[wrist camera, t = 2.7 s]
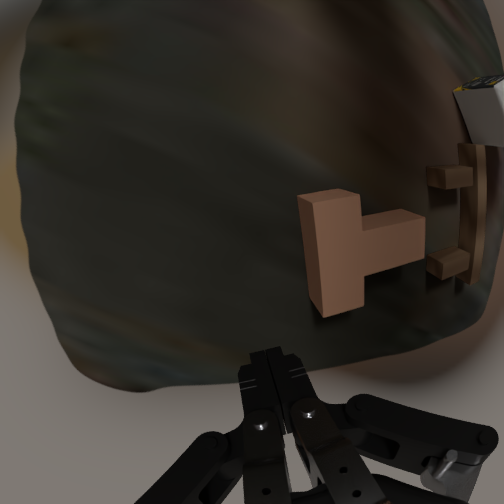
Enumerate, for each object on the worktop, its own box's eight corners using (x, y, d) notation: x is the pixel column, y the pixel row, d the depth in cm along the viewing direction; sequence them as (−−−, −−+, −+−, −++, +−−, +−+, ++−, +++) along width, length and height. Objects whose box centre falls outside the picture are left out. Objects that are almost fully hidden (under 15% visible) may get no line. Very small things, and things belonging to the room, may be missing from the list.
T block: (296, 195, 24) (312, 202, 20) (399, 179, 25) (424, 184, 21) (309, 296, 27) (323, 317, 24) (400, 270, 28) (422, 285, 24)
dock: (424, 143, 24) (442, 144, 21) (466, 143, 24) (484, 144, 22) (424, 288, 30) (439, 299, 27) (464, 272, 30) (478, 281, 27)
